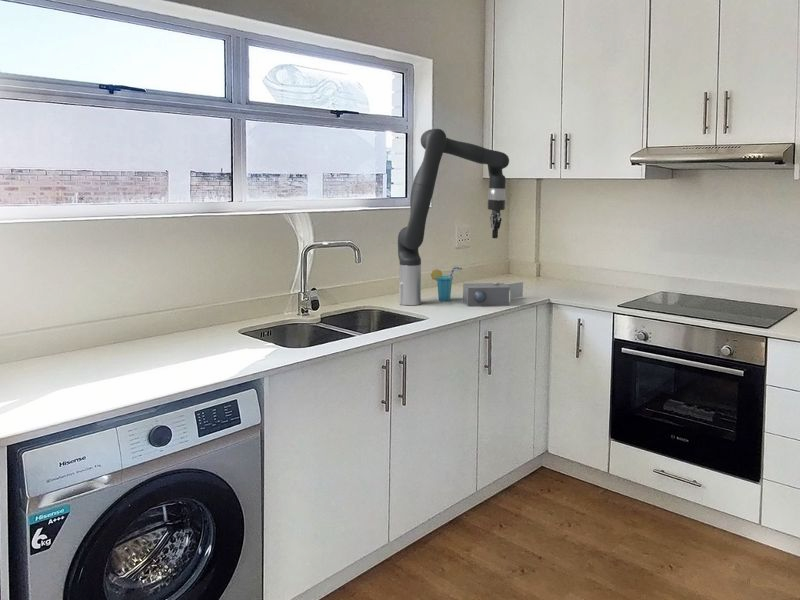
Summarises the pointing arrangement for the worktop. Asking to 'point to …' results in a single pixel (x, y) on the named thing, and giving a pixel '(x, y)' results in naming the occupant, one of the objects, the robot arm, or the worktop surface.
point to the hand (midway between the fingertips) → (494, 238)
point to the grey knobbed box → (486, 294)
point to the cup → (443, 284)
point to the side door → (516, 290)
